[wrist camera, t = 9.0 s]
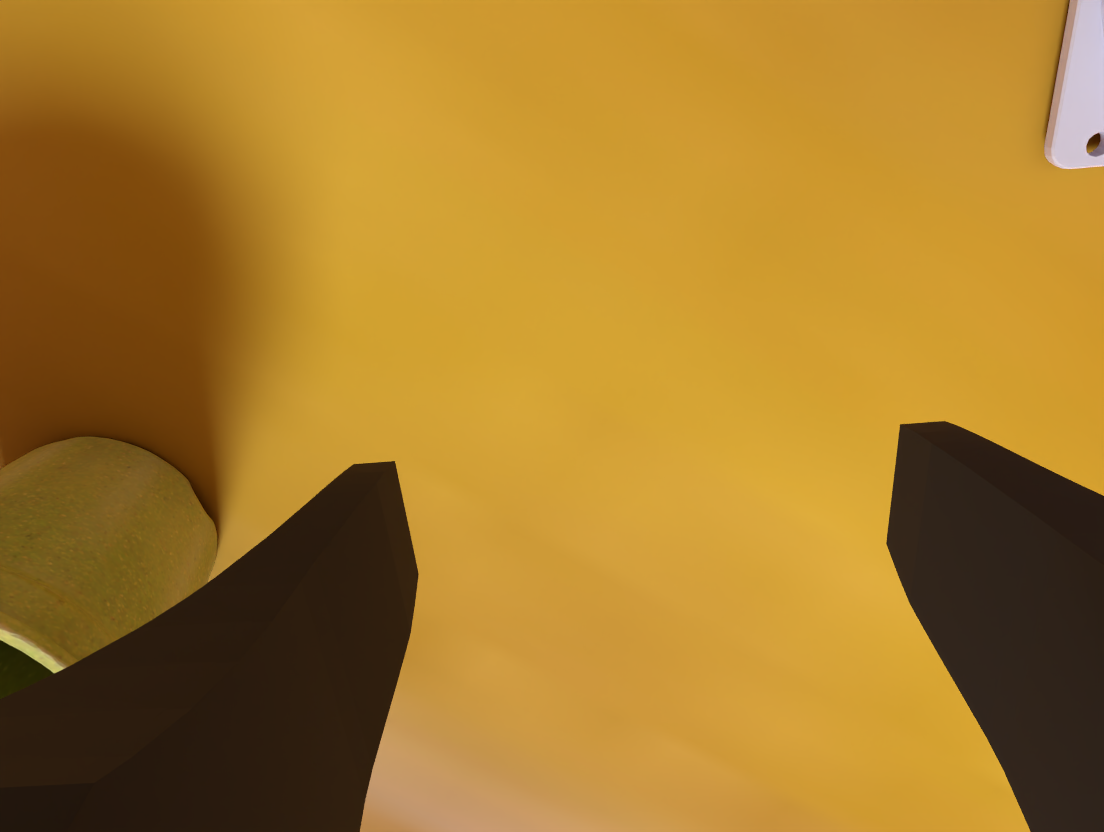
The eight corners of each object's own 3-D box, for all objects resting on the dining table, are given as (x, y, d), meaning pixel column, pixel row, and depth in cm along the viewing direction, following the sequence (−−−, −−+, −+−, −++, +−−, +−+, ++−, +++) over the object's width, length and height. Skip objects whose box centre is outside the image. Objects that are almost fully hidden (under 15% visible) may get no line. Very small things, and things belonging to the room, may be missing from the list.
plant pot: (-31, 322, 21) (-366, 510, 14) (316, 455, 23) (189, 688, 15) (-64, 580, 25) (-339, 836, 18) (233, 677, 27) (99, 950, 19)
